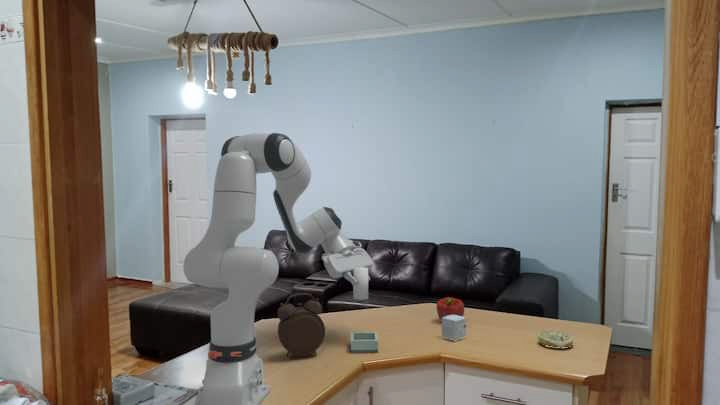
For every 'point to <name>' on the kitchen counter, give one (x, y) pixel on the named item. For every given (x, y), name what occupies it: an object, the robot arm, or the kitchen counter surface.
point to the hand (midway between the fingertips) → (362, 282)
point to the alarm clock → (301, 326)
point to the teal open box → (364, 342)
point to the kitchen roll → (360, 283)
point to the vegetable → (450, 307)
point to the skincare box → (453, 327)
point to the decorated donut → (555, 339)
